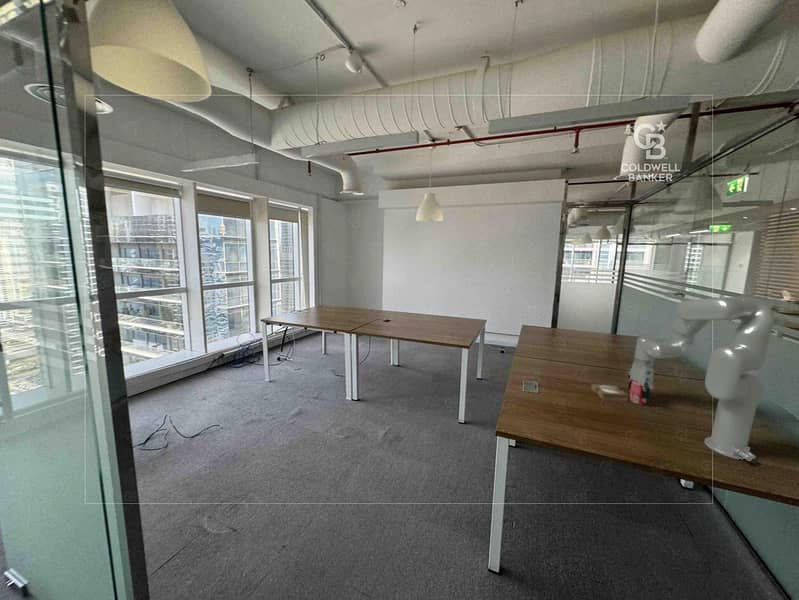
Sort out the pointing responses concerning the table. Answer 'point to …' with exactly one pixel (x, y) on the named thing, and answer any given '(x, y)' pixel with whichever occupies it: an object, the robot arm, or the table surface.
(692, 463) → the table surface
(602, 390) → the base
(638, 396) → the soda can
